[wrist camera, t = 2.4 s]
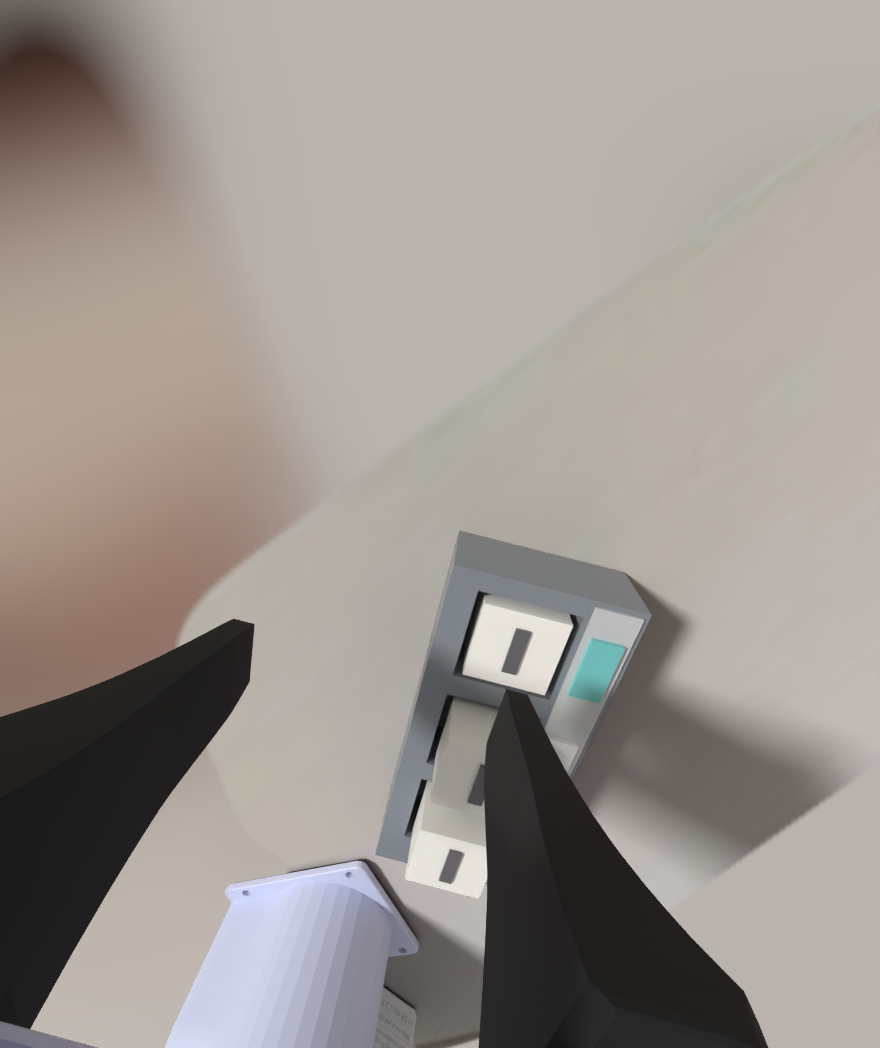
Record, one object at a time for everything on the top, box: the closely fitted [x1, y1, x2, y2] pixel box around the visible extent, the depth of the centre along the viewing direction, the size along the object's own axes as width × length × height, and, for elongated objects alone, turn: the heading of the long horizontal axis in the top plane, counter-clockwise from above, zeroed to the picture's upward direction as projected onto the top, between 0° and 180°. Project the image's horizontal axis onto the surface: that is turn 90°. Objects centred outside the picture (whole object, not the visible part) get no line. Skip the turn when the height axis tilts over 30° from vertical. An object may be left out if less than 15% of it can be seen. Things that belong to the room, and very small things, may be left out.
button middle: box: [430, 697, 499, 817], centre depth 16 cm, size 3×3×2 cm
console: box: [375, 531, 652, 884], centre depth 18 cm, size 15×7×3 cm, turn 167°
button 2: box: [462, 591, 573, 695], centre depth 16 cm, size 3×3×2 cm
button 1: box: [405, 780, 487, 899], centre depth 18 cm, size 3×3×2 cm
